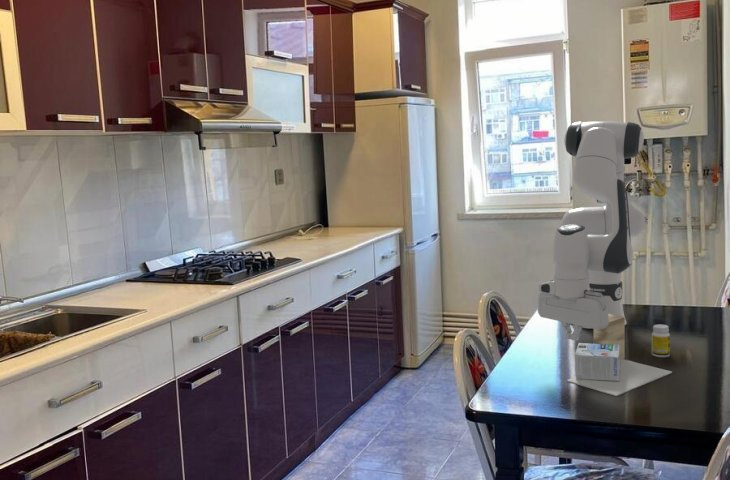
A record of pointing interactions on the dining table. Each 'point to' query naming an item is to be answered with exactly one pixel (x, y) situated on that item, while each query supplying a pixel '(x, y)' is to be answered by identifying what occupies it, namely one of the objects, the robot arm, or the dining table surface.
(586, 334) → the dining table surface
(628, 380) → the mat
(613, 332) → the beech block
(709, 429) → the dining table surface
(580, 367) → the light bulb box
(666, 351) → the supplement bottle
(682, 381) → the dining table surface
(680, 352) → the dining table surface
